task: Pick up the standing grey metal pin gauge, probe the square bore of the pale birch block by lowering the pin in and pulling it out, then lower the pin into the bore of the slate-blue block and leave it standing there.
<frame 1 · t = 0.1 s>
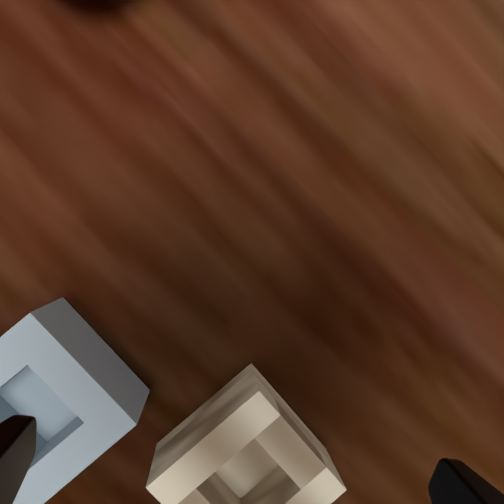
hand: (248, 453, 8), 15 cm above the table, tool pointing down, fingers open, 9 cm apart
birch block: (243, 445, 24), on the table
slate block: (57, 386, 22), on the table
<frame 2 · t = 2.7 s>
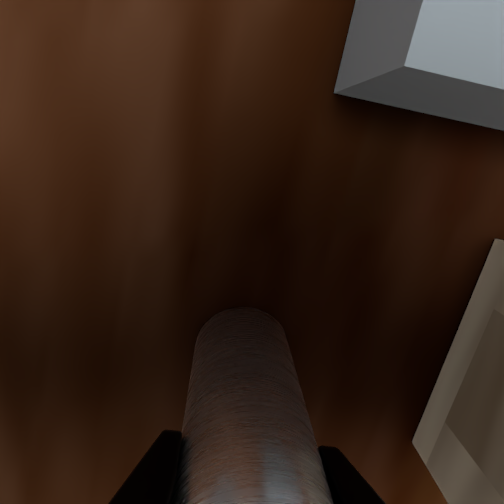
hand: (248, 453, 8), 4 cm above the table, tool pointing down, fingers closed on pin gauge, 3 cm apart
pin gauge: (241, 348, 12), on the table, touching gripper
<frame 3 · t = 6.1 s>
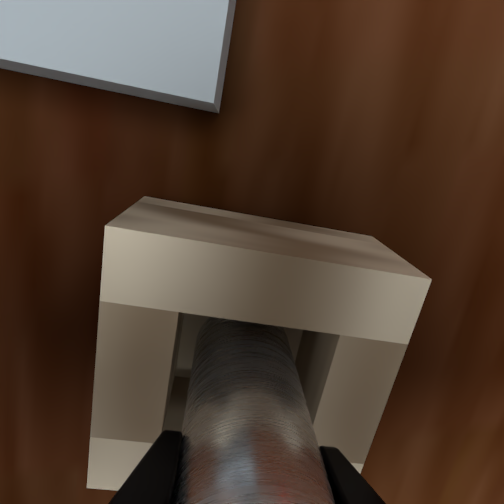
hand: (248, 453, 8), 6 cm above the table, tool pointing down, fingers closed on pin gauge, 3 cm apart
birch block: (241, 319, 14), on the table
pin gauge: (242, 346, 12), point 2 cm above the table, touching gripper
when the fingers open (6 cm above the table, at t = 9.5 s): pin gauge stays where it is, resting on slate block.
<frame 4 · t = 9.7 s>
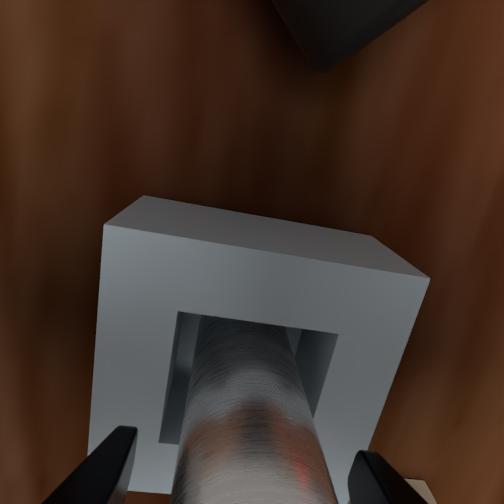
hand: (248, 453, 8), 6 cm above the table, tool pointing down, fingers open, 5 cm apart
slate block: (240, 318, 14), on the table
pin gauge: (241, 331, 13), point 1 cm above the table, touching slate block
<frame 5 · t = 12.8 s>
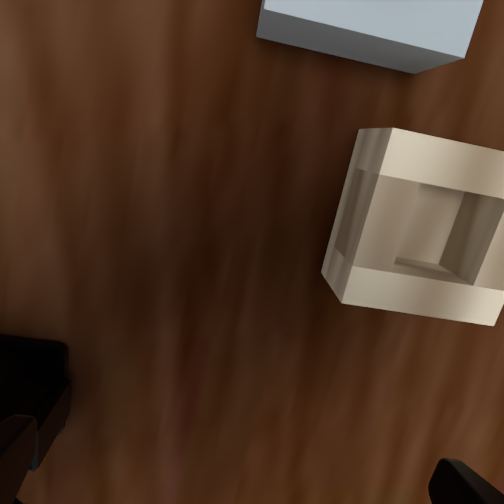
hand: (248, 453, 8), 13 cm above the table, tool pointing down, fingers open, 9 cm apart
birch block: (406, 217, 20), on the table
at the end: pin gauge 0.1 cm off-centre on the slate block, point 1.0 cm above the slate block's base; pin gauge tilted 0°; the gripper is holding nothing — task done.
